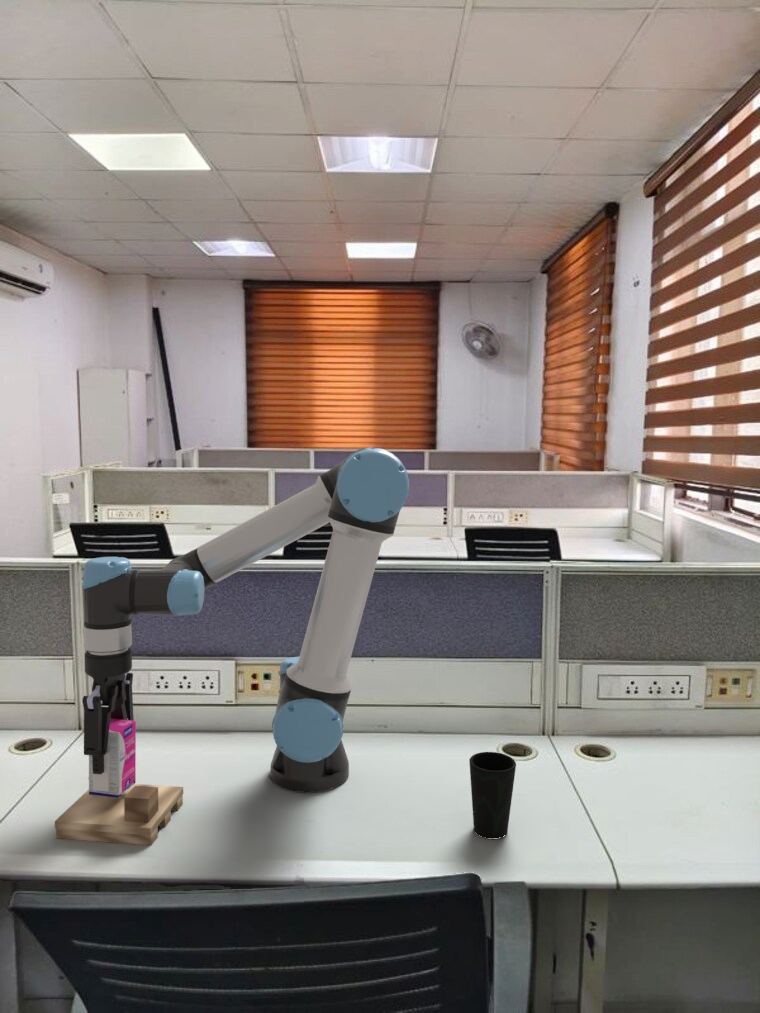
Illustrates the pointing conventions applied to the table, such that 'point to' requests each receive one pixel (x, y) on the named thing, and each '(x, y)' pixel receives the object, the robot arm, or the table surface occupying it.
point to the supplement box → (119, 758)
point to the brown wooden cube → (141, 804)
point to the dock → (116, 818)
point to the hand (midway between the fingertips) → (110, 780)
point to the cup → (491, 792)
